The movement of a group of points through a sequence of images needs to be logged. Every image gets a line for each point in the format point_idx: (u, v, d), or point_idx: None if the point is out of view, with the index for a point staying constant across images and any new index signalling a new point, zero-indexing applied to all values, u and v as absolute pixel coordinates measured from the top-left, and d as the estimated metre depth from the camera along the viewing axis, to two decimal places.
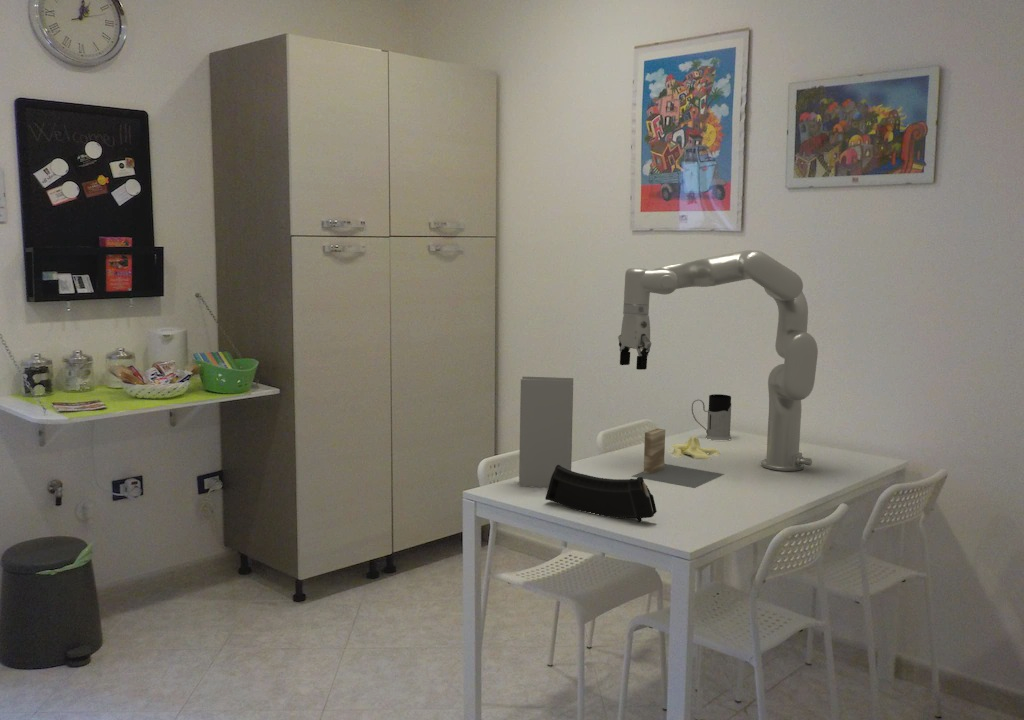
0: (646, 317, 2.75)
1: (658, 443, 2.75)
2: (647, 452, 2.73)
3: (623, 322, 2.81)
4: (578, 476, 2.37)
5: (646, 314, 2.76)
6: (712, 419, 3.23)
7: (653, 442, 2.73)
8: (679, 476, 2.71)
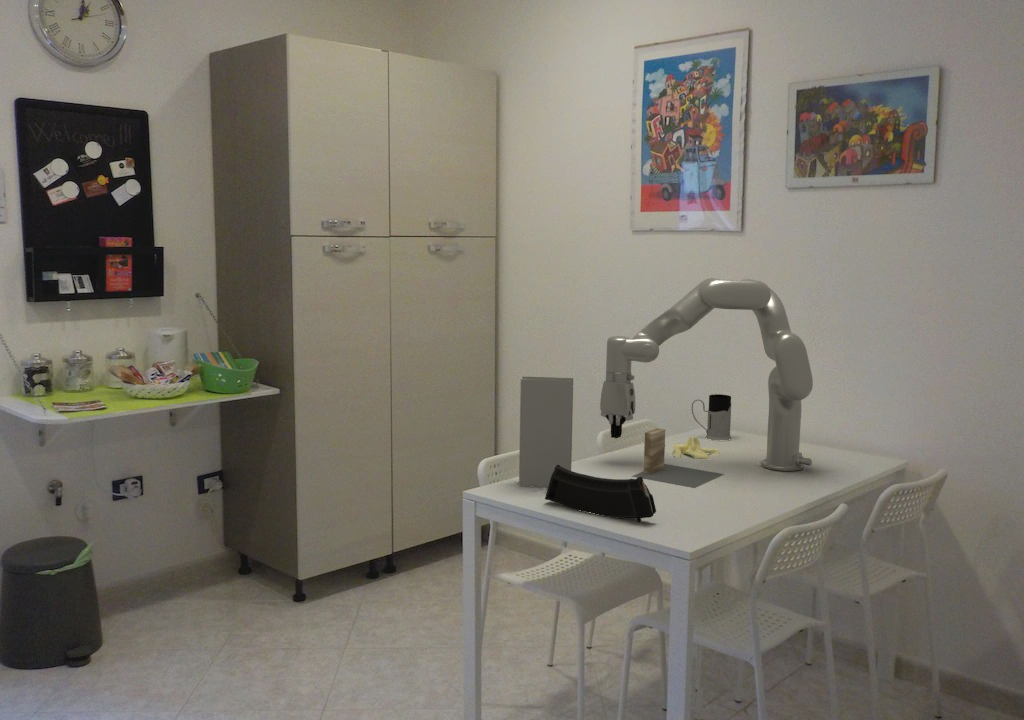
0: (632, 384, 2.80)
1: (658, 443, 2.75)
2: (647, 452, 2.73)
3: (605, 390, 2.82)
4: (578, 476, 2.37)
5: (630, 381, 2.81)
6: (712, 419, 3.23)
7: (653, 442, 2.73)
8: (679, 476, 2.71)
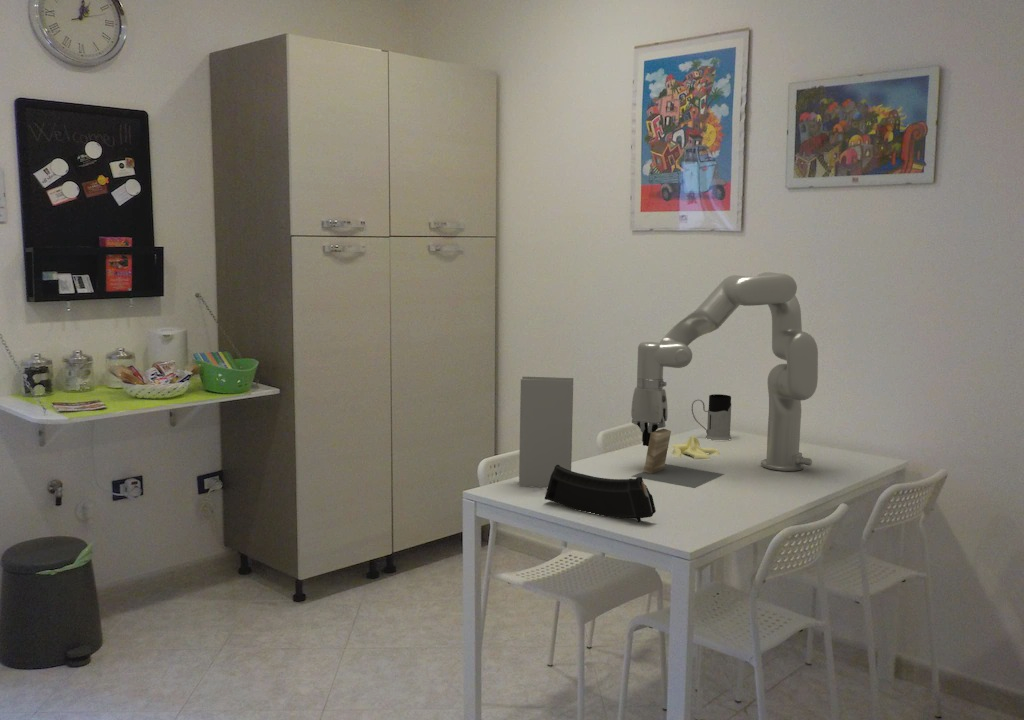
0: (664, 391, 2.74)
1: (662, 444, 2.75)
2: (650, 452, 2.73)
3: (636, 397, 2.76)
4: (577, 476, 2.37)
5: (662, 388, 2.75)
6: (712, 419, 3.23)
7: (658, 443, 2.72)
8: (679, 476, 2.71)
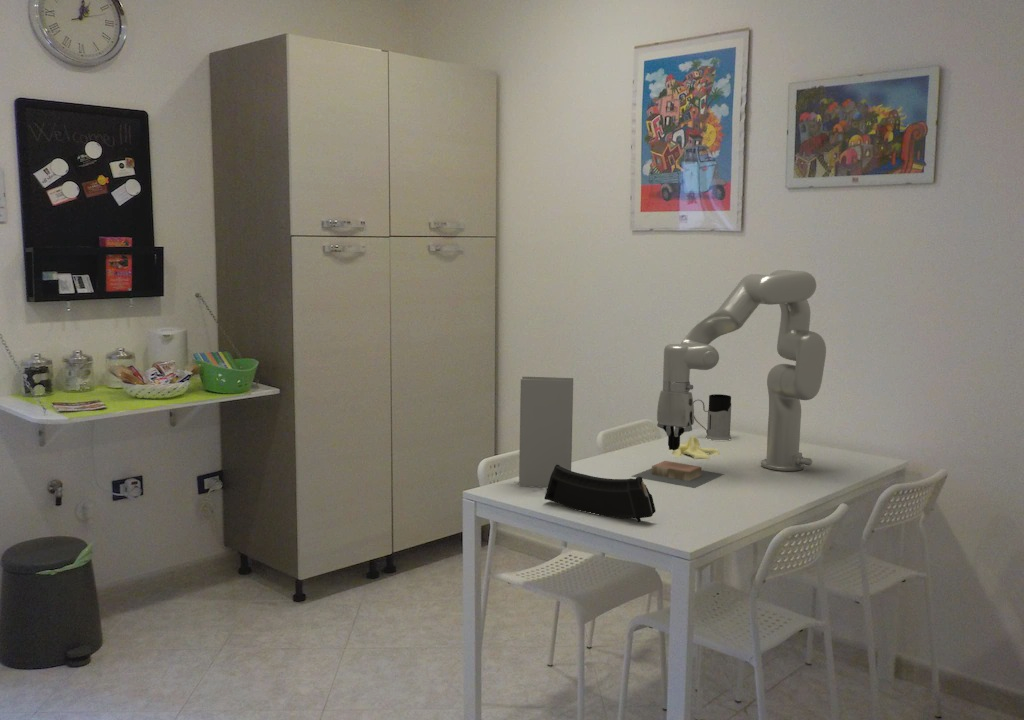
0: (691, 394, 2.69)
1: None
2: (671, 472, 2.69)
3: (662, 400, 2.71)
4: (577, 476, 2.37)
5: (688, 391, 2.70)
6: (712, 419, 3.23)
7: None
8: None
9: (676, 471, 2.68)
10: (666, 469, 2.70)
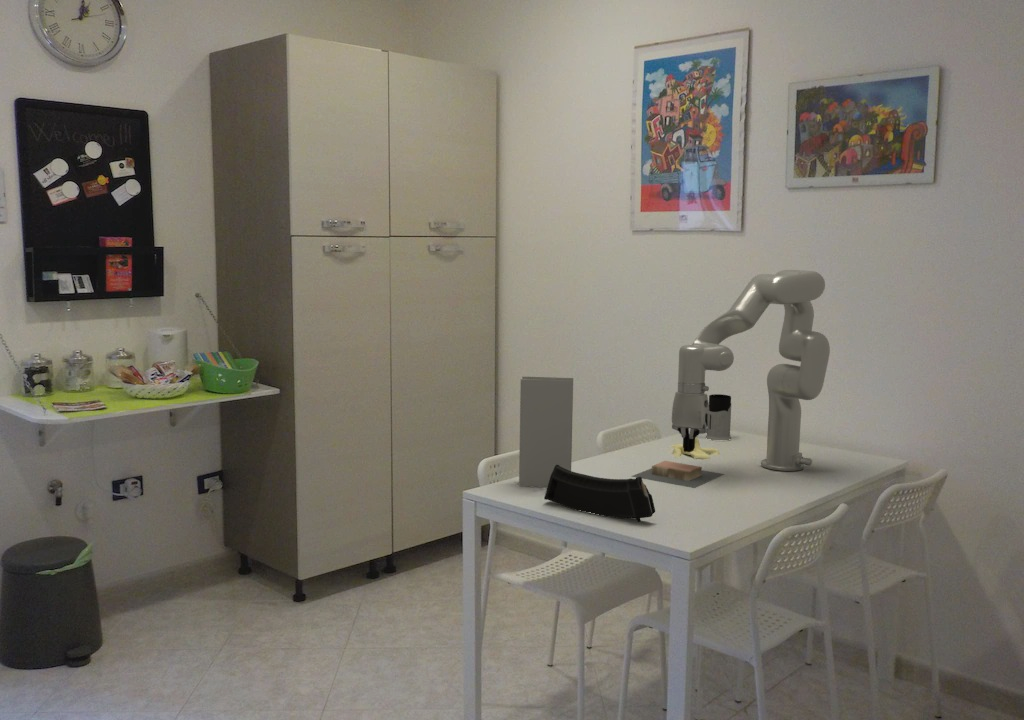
0: (706, 396, 2.66)
1: None
2: (671, 472, 2.69)
3: (677, 402, 2.68)
4: (577, 476, 2.37)
5: None
6: (712, 419, 3.23)
7: None
8: None
9: (676, 471, 2.68)
10: (666, 469, 2.70)
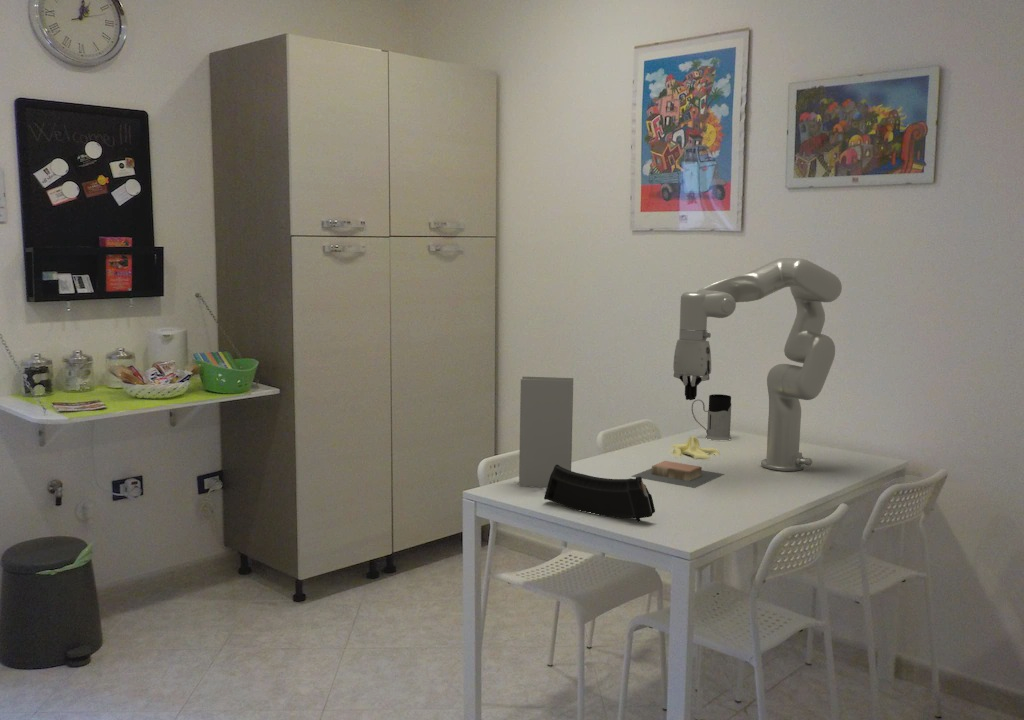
0: (708, 342, 2.64)
1: None
2: (671, 472, 2.69)
3: (678, 349, 2.67)
4: (577, 476, 2.37)
5: None
6: (712, 419, 3.23)
7: None
8: None
9: (676, 471, 2.68)
10: (666, 469, 2.70)
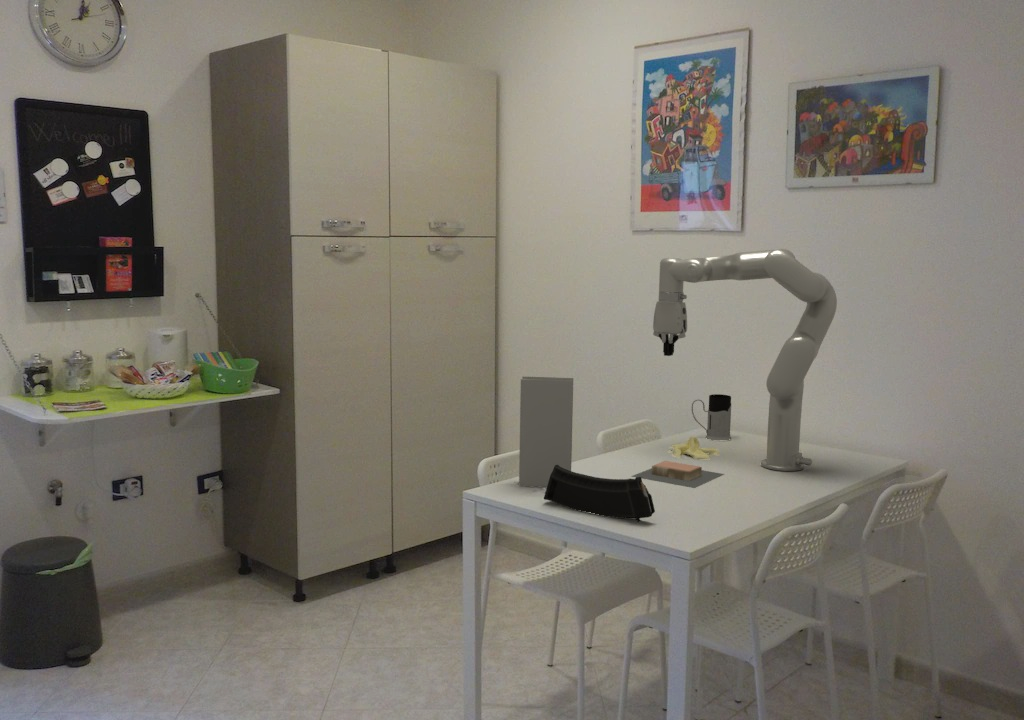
0: (684, 303, 2.93)
1: None
2: (671, 472, 2.69)
3: (658, 310, 2.95)
4: (576, 476, 2.37)
5: (682, 301, 2.94)
6: (712, 419, 3.23)
7: None
8: None
9: (676, 471, 2.68)
10: (666, 469, 2.70)
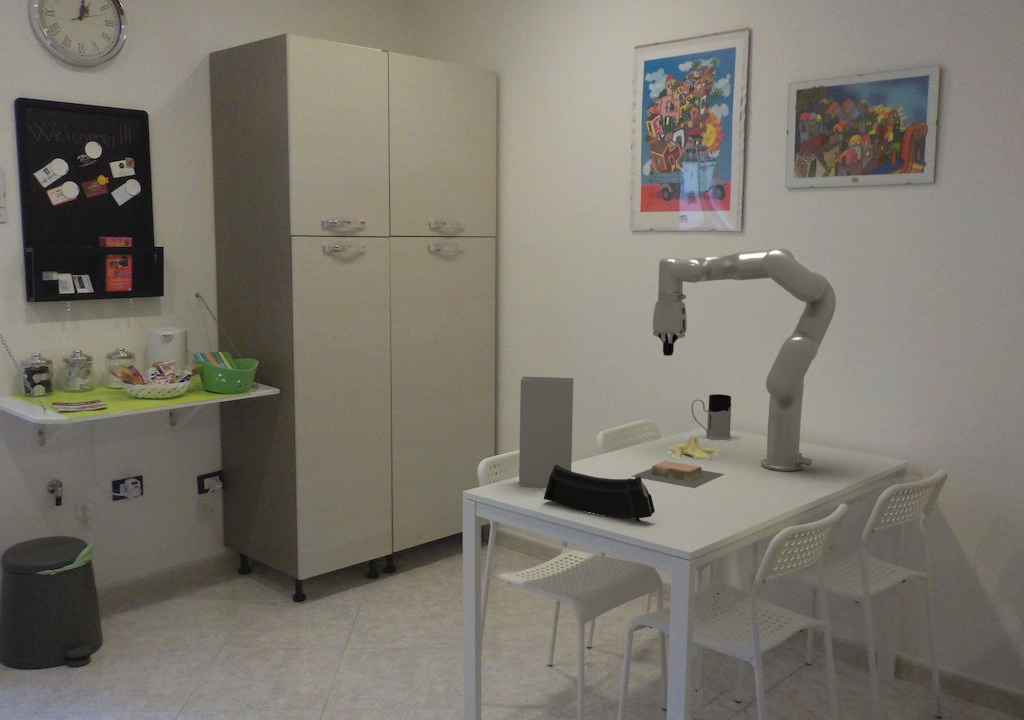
0: (684, 303, 2.94)
1: None
2: (671, 472, 2.69)
3: (657, 310, 2.96)
4: (576, 476, 2.37)
5: (681, 301, 2.95)
6: (712, 419, 3.23)
7: None
8: None
9: (676, 471, 2.68)
10: (666, 469, 2.70)
